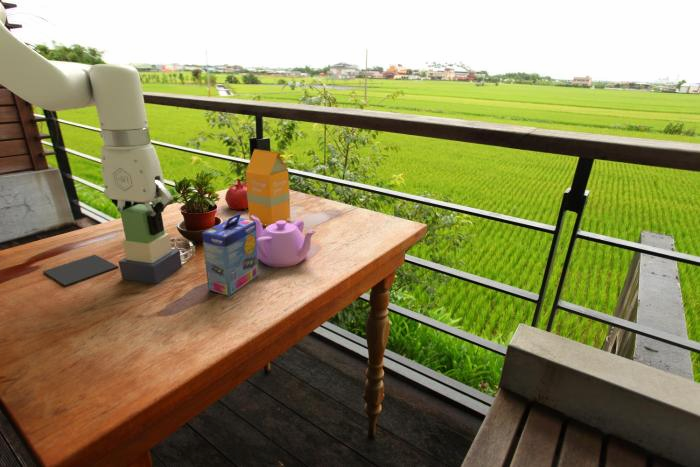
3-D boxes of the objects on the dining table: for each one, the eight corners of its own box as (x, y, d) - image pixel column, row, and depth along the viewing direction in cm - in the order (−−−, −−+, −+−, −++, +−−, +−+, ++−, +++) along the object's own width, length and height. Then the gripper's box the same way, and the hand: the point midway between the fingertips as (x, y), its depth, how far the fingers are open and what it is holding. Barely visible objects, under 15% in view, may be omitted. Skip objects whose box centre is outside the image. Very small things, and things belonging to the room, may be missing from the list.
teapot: (253, 249, 92) (251, 214, 89) (311, 245, 95) (311, 211, 92) (251, 272, 82) (248, 233, 78) (317, 267, 84) (316, 229, 81)
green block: (125, 240, 76) (119, 211, 74) (144, 231, 80) (138, 203, 78) (147, 243, 75) (142, 213, 72) (165, 234, 79) (160, 206, 77)
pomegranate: (264, 204, 124) (263, 176, 121) (245, 214, 116) (242, 183, 112) (240, 200, 128) (237, 173, 125) (219, 209, 120) (215, 179, 116)
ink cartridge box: (230, 297, 72) (222, 224, 67) (206, 291, 74) (197, 220, 68) (260, 274, 81) (256, 208, 75) (238, 269, 82) (232, 204, 77)
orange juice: (272, 228, 105) (267, 154, 98) (248, 221, 110) (243, 150, 102) (290, 220, 112) (288, 150, 104) (268, 214, 116) (263, 146, 108)
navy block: (122, 279, 78) (118, 261, 76) (150, 262, 85) (147, 245, 83) (156, 284, 76) (153, 266, 74) (182, 266, 83) (179, 249, 82)
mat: (43, 272, 80) (42, 271, 79) (95, 256, 87) (94, 254, 87) (65, 287, 74) (64, 285, 74) (118, 267, 82) (118, 266, 82)
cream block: (126, 259, 77) (122, 241, 75) (147, 247, 82) (144, 230, 81) (152, 263, 76) (148, 244, 74) (172, 251, 81) (169, 233, 80)
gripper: (70, 138, 69) (93, 233, 75) (153, 144, 65) (169, 243, 72) (104, 133, 75) (123, 220, 82) (181, 138, 72) (194, 229, 79)
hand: (144, 230), depth 77 cm, fingers closed on green block, 5 cm apart
